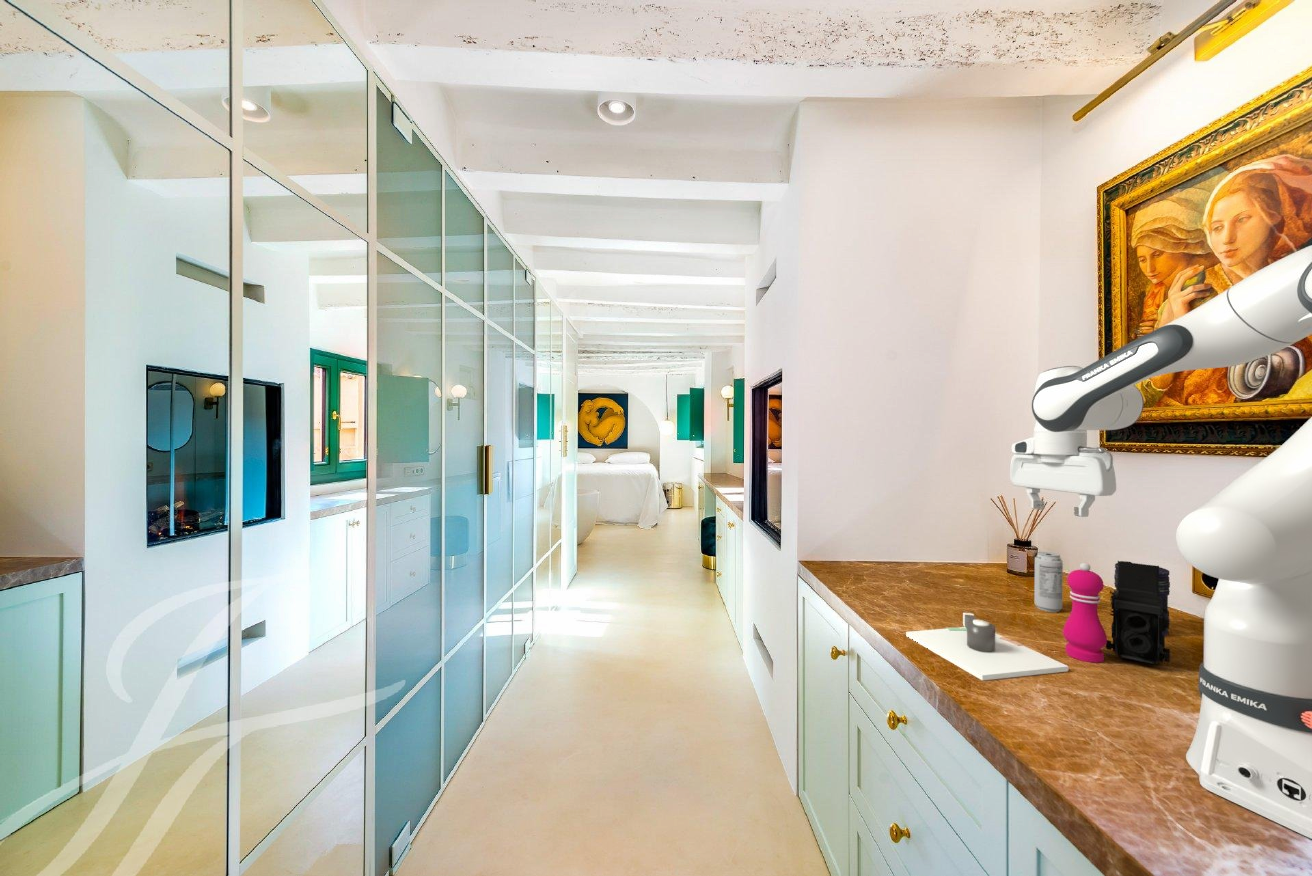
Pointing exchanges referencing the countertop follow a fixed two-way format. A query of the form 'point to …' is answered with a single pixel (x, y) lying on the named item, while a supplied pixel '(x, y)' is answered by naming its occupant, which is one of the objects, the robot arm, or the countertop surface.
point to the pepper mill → (1085, 616)
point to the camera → (1138, 615)
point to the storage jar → (1163, 589)
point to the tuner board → (986, 655)
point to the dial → (979, 633)
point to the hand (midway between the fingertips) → (1058, 512)
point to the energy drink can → (1048, 581)
